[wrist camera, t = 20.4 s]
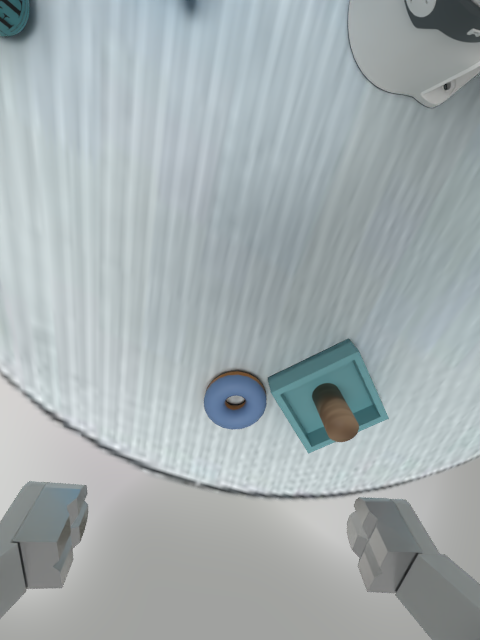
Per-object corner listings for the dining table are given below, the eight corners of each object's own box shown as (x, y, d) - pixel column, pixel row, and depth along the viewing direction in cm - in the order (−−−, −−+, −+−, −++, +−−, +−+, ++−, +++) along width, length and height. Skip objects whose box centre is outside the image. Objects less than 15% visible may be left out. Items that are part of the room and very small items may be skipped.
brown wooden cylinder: (321, 379, 50) (338, 412, 43) (344, 389, 51) (365, 423, 44) (306, 400, 52) (320, 435, 44) (329, 409, 53) (346, 445, 46)
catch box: (348, 338, 49) (358, 351, 45) (377, 402, 54) (388, 418, 50) (267, 377, 51) (271, 392, 47) (302, 435, 56) (308, 453, 52)
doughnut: (190, 395, 51) (190, 414, 47) (234, 354, 49) (238, 371, 45) (232, 424, 55) (236, 444, 51) (274, 388, 53) (282, 406, 49)
